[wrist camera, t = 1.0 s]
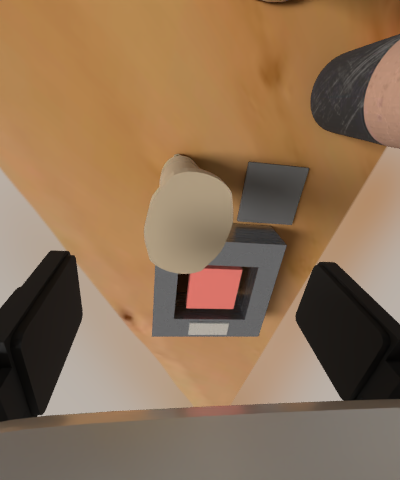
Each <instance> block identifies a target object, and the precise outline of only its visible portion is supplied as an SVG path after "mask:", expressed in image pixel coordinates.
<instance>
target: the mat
mask: <svg viewBox="0 0 400 480" xmlns="http://www.w3.org/2000/svg"><path fill="white" fill-rule="evenodd" d="M308 171H309V168H306V167H296V166H287V165H277V164H267V163H258V162H249V163H248V168H247V173H246V178H245V183H244V188H243V193H242V198H241V203H240V208H239V213H238V218H237V221H242V222H257V223H272V224H286V225H292V223H293V219H294V216H295V213H296V210H297V206H298V203H299V200H300V197H301V194H302V190H303V187H304V184H305V181H306V177H307V174H308Z"/></svg>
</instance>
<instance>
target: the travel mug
mask: <svg viewBox="0 0 400 480" xmlns="http://www.w3.org/2000/svg"><path fill="white" fill-rule="evenodd" d="M311 111H312V115H313V117H314V119H315V121H316V122H317V124H318V125H319V126H320V127H322V128H323V129H325V130H327V131H330V132H333V133H337V134H341V135H345V136H349V137H353V138H357V139H361V140H365V141H369V142H373V143H377V144H381V145H385V146H389V147H394V148H399V149H400V34H399V35H396V36H393V37H390V38H387V39H384V40H381V41H378V42H375V43H372V44H369V45H366V46H363V47H361V48H358V49H355V50H352V51H349V52H347V53H344V54H342V55H340V56H338V57H336V58H335V59H333V60H332V61H331V62H330V63H328V64H327V65H326V66H325V68H324V69H323V70H322V71H321V73H320V74H319V76H318V77H317V79H316V81H315V84H314V86H313V90H312V94H311Z"/></svg>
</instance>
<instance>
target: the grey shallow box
mask: <svg viewBox="0 0 400 480" xmlns="http://www.w3.org/2000/svg"><path fill="white" fill-rule="evenodd" d="M286 246H287V245H286V244H285V243H284V241H283V240H282V239H281V238H280V236H279V235H278V234H277V233H276V232H275V230H274V229H273V228H272V227H271V226H265V225H250V224H235V223H233V224H232V227H231V230H230V233H229V235H228V238H227V240H226V242H225V245H224V247H223V249H222V250H221V252H220V253H219V254H218V255H217V257H216V258H215V259H214V260H213V261H211V262H210V263H209V264H208V265H216V266H240V267H242V274H241V278H240V283H239V287H238V291H237V295H236V300H235V304H234V308H233V309H195V308H186V296H187V293H176V290H177V280H178V273H173V272H169V271H166V270H164V269H161V268H159V267H158V266H156V265H155V284H154V306H153V328H152V336H259V333H260V329H261V326H262V323H263V320H264V316H265V313H266V310H267V307H268V304H269V300H270V297H271V294H272V291H273V288H274V284H275V281H276V278H277V275H278V272H279V268H280V265H281V262H282V259H283V256H284V252H285V249H286Z"/></svg>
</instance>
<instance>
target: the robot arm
mask: <svg viewBox="0 0 400 480" xmlns="http://www.w3.org/2000/svg"><path fill="white" fill-rule="evenodd" d="M262 1H266V2H284V1H288V0H262ZM81 320H82V305H81V296H80V288H79V280H78V272H77V264H76V258H75V256H74V255H70V252H69V251H50V252H49V253H48V254H47V255H46V257H45V258H44V259H43V260H42V262H41V263H40V264H39V265H38V267H37V268H36V269H35V270H34V272H33V273H32V274H31V275H30V277H29V278H28V279H27V281H26V282H25V283H24V284H23V285H22V287H19V288H17V289H16V290H15V291H14V292H13V294H12V295H11V296H10V297H9V298H8V300H7V301H6V302H5V303H4V305H3V306H2V307H1V308H0V480H400V324H399V323H398V322H397V321H396V320H395V319H394V318H393V317H392V316H390V315H389V314H388V313H387V312H386V311H385V310H384V309H383V308H382V307H381V306H380V305H379V304H378V303H377V302H376V301H375V300H374V299H373V298H372V297H371V296H370V295H369V294H367V293H366V292H365V291H364V290H363V289H362V288H361V287H360V286H359V285H358V284H357V283H356V282H355V281H354V280H353V279H352V278H351V277H350V276H349V275H348V274H347V273H345V271H344V270H343V269H341V268H340V267H339V266H338V265H337V264H336V263H333V262H319V263H318V265H316V266H314V268H313V270H312V273H311V275H310V278H309V281H308V283H307V286H306V289H305V291H304V294H303V297H302V299H301V302H300V304H299V307H298V310H297V312H296V321H297V324H298V325H299V327H300V329H301V331H302V332H303V334H304V336H305V337H306V339H307V341H308V343H309V344H310V346H311V348H312V349H313V351H314V353H315V354H316V356H317V358H318V360H319V361H320V363H321V365H322V366H323V368H324V370H325V372H326V374H327V375H328V377H329V379H330V380H331V382H332V384H333V385H334V387H335V389H336V390H337V392H338V394H339V396H340V397H341V398H342V400H344V401H327V402H301V403H278V404H255V405H233V406H211V407H190V408H170V409H150V410H130V411H111V412H96V413H81V414H68V415H67V414H66V415H52V416H41V417H37V415H42V414H43V413H44V412H45V410H46V408H47V405H48V403H49V400H50V398H51V395H52V393H53V390H54V388H55V385H56V383H57V380H58V378H59V375H60V373H61V371H62V368H63V366H64V363H65V361H66V358H67V356H68V353H69V351H70V348H71V345H72V343H73V340H74V338H75V336H76V333H77V331H78V328H79V325H80V323H81Z"/></svg>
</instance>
